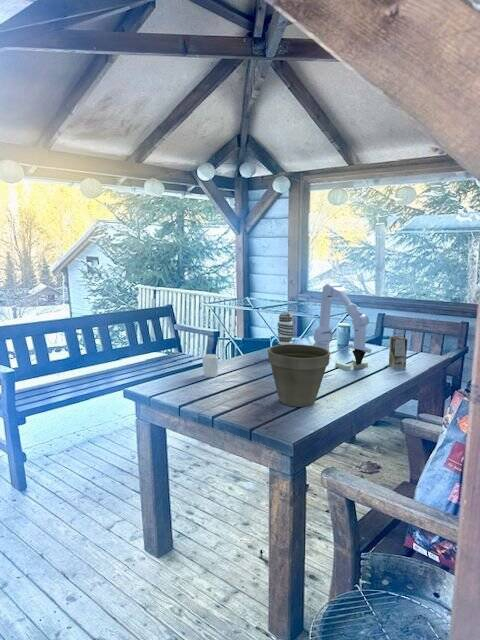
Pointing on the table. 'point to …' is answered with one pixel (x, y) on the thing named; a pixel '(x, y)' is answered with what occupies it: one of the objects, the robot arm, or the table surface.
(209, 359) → the white cup
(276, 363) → the plant pot
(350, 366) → the box
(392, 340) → the coffee box
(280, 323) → the decorative candle
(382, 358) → the table surface
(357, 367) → the sliding lid with handle
